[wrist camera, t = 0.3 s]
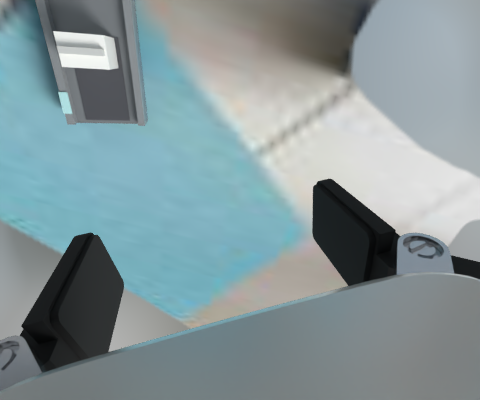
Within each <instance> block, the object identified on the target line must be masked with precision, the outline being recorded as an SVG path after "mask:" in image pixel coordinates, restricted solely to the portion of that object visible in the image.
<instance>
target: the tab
mask: <svg viewBox="0 0 480 400" xmlns="http://www.w3.org/2000/svg"><path fill="white" fill-rule="evenodd" d="M53 32H54V37H55V41H56V45H57V50H58V53H59V57H60V61H61V65H62V67H71V68H88V69H105V70H111V69H117V68H118V61H117V54H116V48H115V41H114V38H112V37H108V36H105V35H94V34H82V33H71V32H59V31H53Z"/></svg>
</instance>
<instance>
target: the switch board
mask: <svg viewBox="0 0 480 400" xmlns="http://www.w3.org/2000/svg"><path fill="white" fill-rule="evenodd" d="M35 2H36V5H37V9H38V13H39V17H40V21H41V24H42V28H43V32H44V36H45V40H46V43H47V47H48V51H49V55H50V59H51V63H52V66H53V70H54V74H55V78H56V82H57V85H58V89H59V92H58V94H59V98H60V102H61V105H62V109H63V113H64V114H65V116H66V120H67V124H76V123H126V124H138V125H140V126H145V124H146V122H147V121H148V118H147V109H146V100H145V91H144V82H143V73H142V64H141V55H140V46H139V37H138V28H137V19H136V9H135V0H35ZM53 31H59V32H71V33H82V34H94V35H105V36H108V37H112V38H114V41H115V48H116V54H117V61H118V68H117V69H111V70H105V69H88V68H71V67H62V65H61V61H60V57H59V53H58V50H57V45H56V41H55V37H54V32H53Z"/></svg>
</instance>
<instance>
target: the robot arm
mask: <svg viewBox="0 0 480 400" xmlns="http://www.w3.org/2000/svg"><path fill="white" fill-rule="evenodd" d="M395 231H396V230H395V229H393V228H392V227H391V226H390V225H388V224H387V223H386V222H385V221H383V220H382V219H381V218H380V217H378V216H377V215H376V214H375V213H373V212H372V211H371V210H370V209H368V208H367V207H366V206H365V205H363V204H362V203H361V202H360V201H358V200H357V199H356V198H355V197H353V196H352V195H351V194H350V193H348V192H347V191H346V190H345V189H343V188H342V187H341V186H340V185H338V184H337V183H336V182H335V181H333V180H332V179H326V180H322V181H318V182H317V184H316V185H314V187H313V237H314V239H315V241H316V242H317V244H318V245H319V246H320V248H321V249H322V251H323V252H324V253H325V255H326V256H327V257H328V259H329V260H330V261H331V263H332V264H333V265H334V267H335V268H336V269H337V271H338V272H339V274H340V275H341V276H342V278H343V279H344V280H345V282H346V283H347V284H348V286H347V287H343V288H339V289H335V290H331V291H328V292H324V293H320V294H316V295H313V296H309V297H305V298H302V299H298V300H294V301H291V302H287V303H283V304H279V305H276V306H272V307H268V308H265V309H261V310H258V311H254V312H250V313H247V314H243V315H239V316H236V317H232V318H228V319H225V320H221V321H218V322H214V323H210V324H207V325H203V326H200V327H196V328H192V329H189V330H185V331H182V332H178V333H175V334H171V335H168V336H164V337H160V338H157V339H154V340H150V341H146V342H143V343H139V344H136V345H132V346H129V347H125V348H121V349H118V350H115V351H111V352H108V350H109V346H110V342H111V338H112V334H113V330H114V326H115V322H116V318H117V314H118V309H119V305H120V301H121V297H122V293H123V289H124V282H123V279H122V278H121V276H120V274H119V272H118V270H117V268H116V267H115V265H114V263H113V261H112V259H111V257H110V255H109V254H108V252H107V250H106V248H105V246H104V244H103V243H102V241H101V239H100V237H99V236H98V235H94V234H93V233H86V234H82V235H78V236H75V237H74V238H73V240H72V241H71V243H70V245H69V247H68V248H67V250H66V252H65V253H64V255H63V257H62V258H61V260H60V262H59V263H58V265H57V267H56V269H55V270H54V272H53V273H52V275H51V277H50V279H49V280H48V282H47V284H46V285H45V287H44V289H43V290H42V292H41V294H40V295H39V297H38V299H37V301H36V302H35V304H34V306H33V308H32V309H31V311H30V312H29V314H28V316H27V317H26V319H25V321H24V323H23V324H22V327H23V331H22V333H21V334H20V336H11V337H7V338H5V339H2V340H0V400H480V262H476V261H473V260H468V259H464V258H460V257H455V256H451V255H450V251H449V249H448V247H447V246H446V245H445V244H444V243H443V242H442V241H440V240H438V239H437V238H434V237H432V236H430V235H426V234H422V233H407V234H404V235H402V236H399V235H398V234H397V233H396V232H395Z"/></svg>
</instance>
